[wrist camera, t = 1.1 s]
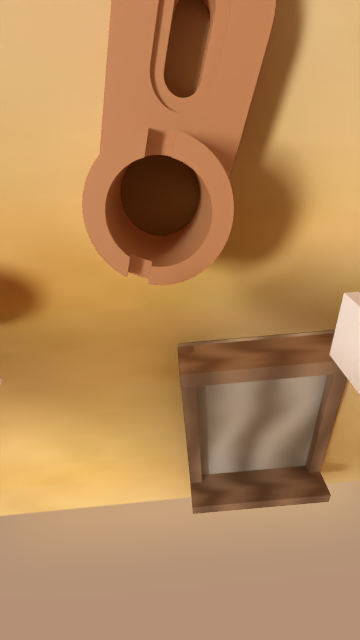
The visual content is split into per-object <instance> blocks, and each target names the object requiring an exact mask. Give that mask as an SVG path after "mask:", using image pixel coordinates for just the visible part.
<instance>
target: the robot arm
mask: <svg viewBox="0 0 360 640" xmlns="http://www.w3.org/2000/svg"><path fill="white" fill-rule="evenodd" d="M329 355H330V356H331V357H332V359H333V360H334V361H335V363H336V364H337V365H338V367H339V368H340V369H341V371H342V372H343V373H344V375H345V376H346V377H347V379H348V380H349V381H350V383H351V384H352V385H353V387H354V388H355V389H356V391H357V392H358V393H359V395H360V291H358V292H346V293H344V295H343V299H342V304H341V308H340V312H339V316H338V320H337V325H336V329H335V333H334V337H333V342H332V346H331V350H330V354H329ZM2 382H3V381H2V379H1V377H0V385H1V383H2Z"/></svg>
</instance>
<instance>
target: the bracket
mask: <svg viewBox="0 0 360 640" xmlns="http://www.w3.org/2000/svg"><path fill="white" fill-rule="evenodd" d="M179 1H180V0H112V1H111V14H110V27H109V40H108V53H107V66H106V79H105V92H104V105H103V118H102V130H101V143H100V155H99V156H98V157H97V159H96V160H95V162H94V163H93V165H92V167H91V169H90V171H89V173H88V176H87V178H86V182H85V185H84V191H83V200H82V208H83V218H84V223H85V227H86V230H87V233H88V235H89V238H90V240H91V242H92V244H93V245H94V247H95V249H96V250H97V252H98V253H99V254H100V256H101V257H102V258H103V259H104V260H105V261H106V262H107V263H108V264H109V265H110V266H111V267H112V268H113V269H115V270H116V271H118V272H119V273H121V274H122V275H124V276H126V277H127V276H128V272H130V273H132V274H134V275H137V276H140V277H145V278H149V283H148V284H153V285H168V284H174V283H179V282H182V281H185V280H188V279H190V278H192V277H194V276H196V275H198V274H199V273H201V272H202V271H204V270H205V269H206V268H207V267H208V266H210V265H211V264H212V263H213V262H214V260H215V259H216V258H217V257H218V256H219V254H220V253H221V251H222V250H223V248H224V246H225V244H226V242H227V240H228V237H229V235H230V232H231V228H232V223H233V217H234V200H233V193H232V188H231V185H230V182H229V179H230V175H231V172H232V168H233V164H234V161H235V157H236V154H237V150H238V147H239V143H240V139H241V136H242V132H243V129H244V125H245V122H246V118H247V114H248V111H249V107H250V104H251V100H252V97H253V93H254V90H255V86H256V82H257V79H258V75H259V72H260V68H261V65H262V61H263V57H264V54H265V50H266V47H267V43H268V40H269V36H270V32H271V29H272V24H273V20H274V14H275V8H276V0H203V1H204V2H205V4H206V6H207V8H208V10H209V15H210V27H209V32H208V37H207V42H206V47H205V52H204V57H203V61H202V66H201V71H200V76H199V81H198V86H197V89H196V92H195V93H194V94H193V95H191V96H189V97H186V98H180V97H177V96H175V95H173V94H172V93H171V92H170V91H169V90H168V88H167V86H166V84H165V80H164V72H165V65H166V59H167V52H168V46H169V39H170V33H171V26H172V20H173V14H174V10H175V8H176V6H177V4H178V3H179ZM150 155H166V156H171V157H172V158H174V159H177V160H179V161H181V162H183V163H185V164H187V165H188V166H189V167H191V168H192V169H193V171H194V172H195V174H196V177H197V179H198V183H199V188H200V200H199V205H198V208H197V211H196V213H195V215H194V217H193V219H192V220H191V221H190V222H189V223H188V225H186V226H185V227H184V228H183V229H181V230H180V231H178V232H176V233H173V234H170V235H162V236H161V235H153V234H149V233H146V232H144V231H142V230H141V229H139V228H138V227H136V226H135V225H134V224H133V223H132V222H131V221H130V219H129V218H128V217H127V215H126V213H125V211H124V209H123V206H122V203H121V197H120V186H121V181H122V178H123V175H124V173H125V171H126V169H127V167H128V166H129V165H130V163H132V162H134V161H136V160H138V159H141V158H144V157H145V156H150Z"/></svg>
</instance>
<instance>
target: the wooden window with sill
mask: <svg viewBox="0 0 360 640" xmlns="http://www.w3.org/2000/svg"><path fill="white" fill-rule="evenodd" d="M334 333H335V330H329V331H318V332H306V333H295V334H284V335H272V336H261V337H249V338H238V339H226V340H215V341H203V342H192V343H180V344H178V358H179V372H180V383H181V388H182V398H183V409H184V419H185V430H186V440H187V451H188V461H189V472H190V482H191V495H192V507H193V513H194V514H195V513H206V512H217V511H229V510H239V509H251V508H262V507H273V506H285V505H296V504H307V503H319V502H328V501H329V498H330V496H331V495H330V493H329V490H328V488H327V486H326V484H325V482H324V480H323V477H322V475H321V473H320V470H321V466H322V463H323V459H324V456H325V452H326V449H327V445H328V442H329V439H330V435H331V432H332V428H333V425H334V421H335V418H336V414H337V411H338V408H339V404H340V401H341V397H342V394H343V390H344V387H345V383H346V380H347V377H346V376H345V375H344V373H343V372H342V371H341V369H340V368H339V367H338V365H337V364H336V363H335V361H334V360H333V359H332V357H331V356H330V355H329V354H330V350H331V346H332V342H333V337H334Z"/></svg>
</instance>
